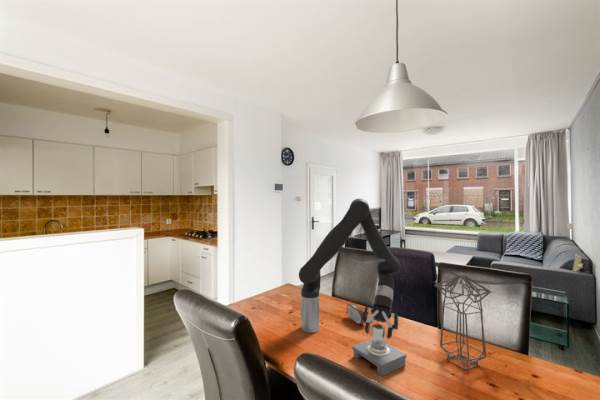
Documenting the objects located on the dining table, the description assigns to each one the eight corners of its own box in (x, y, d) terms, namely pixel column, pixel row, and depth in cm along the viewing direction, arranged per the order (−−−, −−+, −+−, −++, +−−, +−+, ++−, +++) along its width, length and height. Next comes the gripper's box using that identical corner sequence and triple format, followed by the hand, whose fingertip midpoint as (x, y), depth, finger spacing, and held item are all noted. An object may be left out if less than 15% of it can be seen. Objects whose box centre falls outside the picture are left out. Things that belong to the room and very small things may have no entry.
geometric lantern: (432, 356, 113) (431, 272, 115) (459, 349, 119) (458, 269, 120) (467, 378, 99) (466, 281, 100) (496, 369, 104) (494, 278, 105)
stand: (352, 355, 114) (352, 345, 114) (376, 346, 121) (376, 336, 121) (381, 376, 100) (381, 364, 100) (406, 365, 107) (406, 353, 107)
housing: (366, 347, 112) (366, 324, 112) (378, 343, 115) (377, 321, 115) (378, 355, 106) (378, 331, 106) (390, 350, 109) (390, 327, 110)
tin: (366, 326, 141) (365, 310, 141) (361, 327, 140) (360, 311, 140) (350, 315, 155) (350, 300, 155) (345, 316, 154) (345, 301, 154)
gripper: (365, 291, 121) (358, 327, 111) (399, 296, 114) (394, 336, 104) (369, 299, 125) (362, 335, 115) (401, 305, 118) (397, 343, 108)
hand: (377, 335), depth 109 cm, fingers open, 8 cm apart
